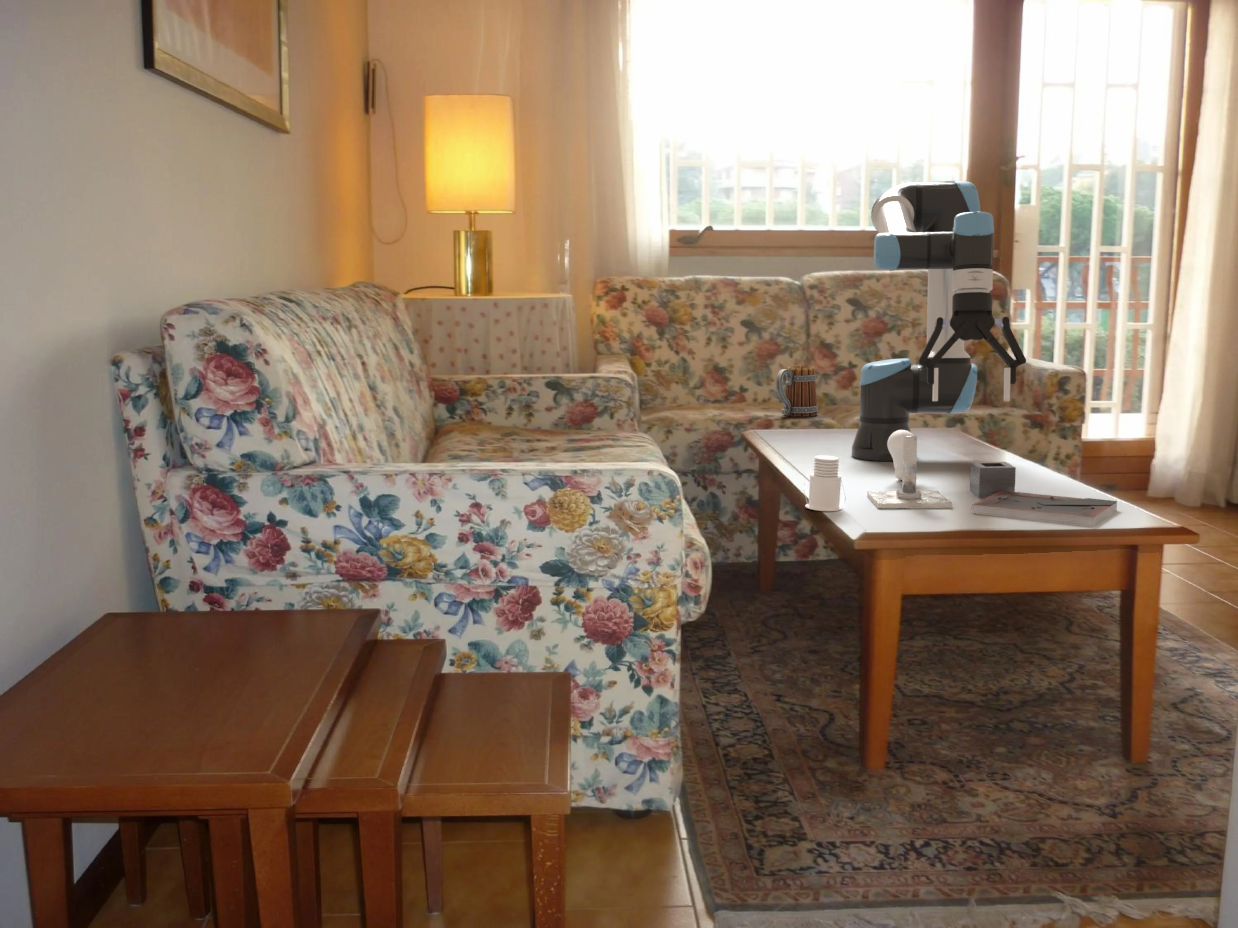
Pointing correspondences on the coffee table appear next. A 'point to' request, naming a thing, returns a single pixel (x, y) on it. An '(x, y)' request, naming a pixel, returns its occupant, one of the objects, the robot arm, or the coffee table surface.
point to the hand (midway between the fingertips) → (970, 401)
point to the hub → (991, 478)
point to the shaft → (909, 486)
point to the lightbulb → (897, 450)
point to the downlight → (825, 485)
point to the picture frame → (1046, 508)
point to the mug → (798, 391)
